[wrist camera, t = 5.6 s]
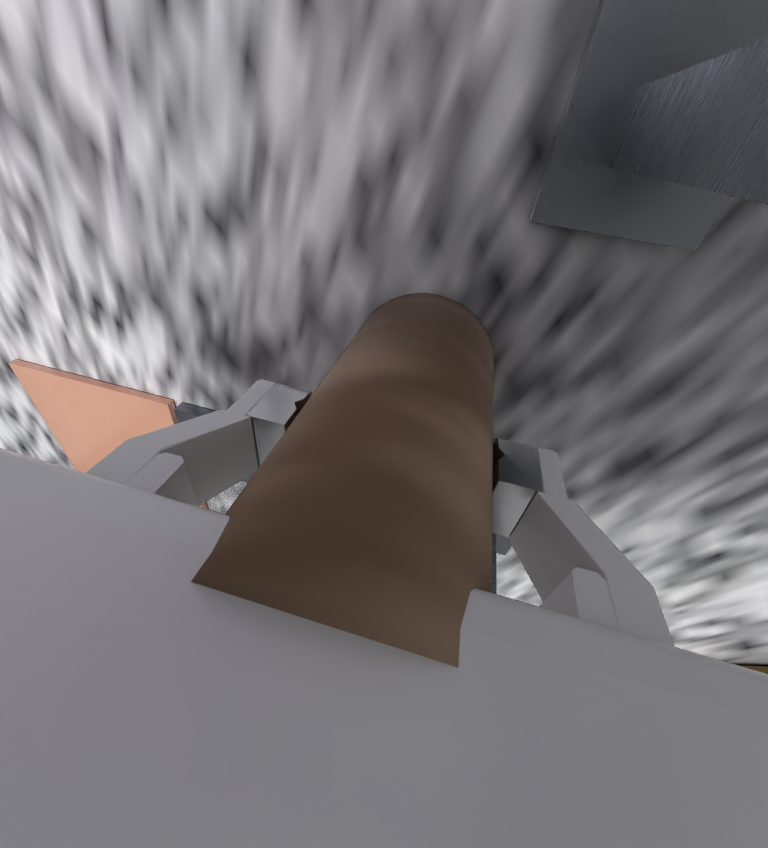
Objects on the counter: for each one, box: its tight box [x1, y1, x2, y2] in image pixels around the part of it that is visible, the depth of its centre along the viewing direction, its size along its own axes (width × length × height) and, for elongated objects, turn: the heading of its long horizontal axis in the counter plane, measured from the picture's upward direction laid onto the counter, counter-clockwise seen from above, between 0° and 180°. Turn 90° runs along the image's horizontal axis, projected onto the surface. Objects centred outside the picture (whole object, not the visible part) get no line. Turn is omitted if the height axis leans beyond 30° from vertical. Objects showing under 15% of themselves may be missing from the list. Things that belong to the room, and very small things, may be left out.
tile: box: [9, 359, 208, 509], centre depth 21 cm, size 9×10×1 cm
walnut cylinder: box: [191, 293, 494, 667], centre depth 9 cm, size 5×5×10 cm
